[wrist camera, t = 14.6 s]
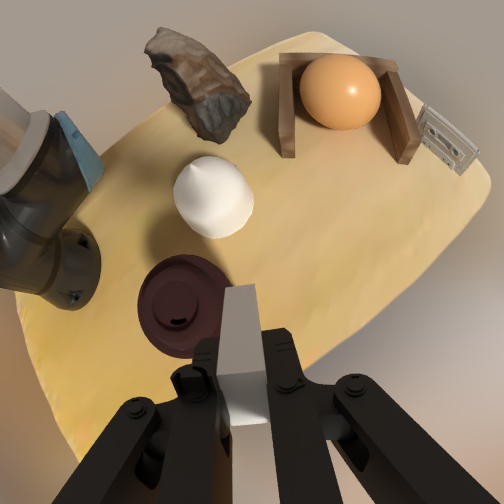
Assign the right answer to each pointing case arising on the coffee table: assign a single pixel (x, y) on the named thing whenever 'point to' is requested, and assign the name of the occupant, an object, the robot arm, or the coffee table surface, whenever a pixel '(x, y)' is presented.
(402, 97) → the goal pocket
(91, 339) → the coffee table surface
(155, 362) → the coffee table surface
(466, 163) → the cassette
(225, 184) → the teardrop
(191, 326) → the coffee cup
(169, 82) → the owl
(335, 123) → the ball
